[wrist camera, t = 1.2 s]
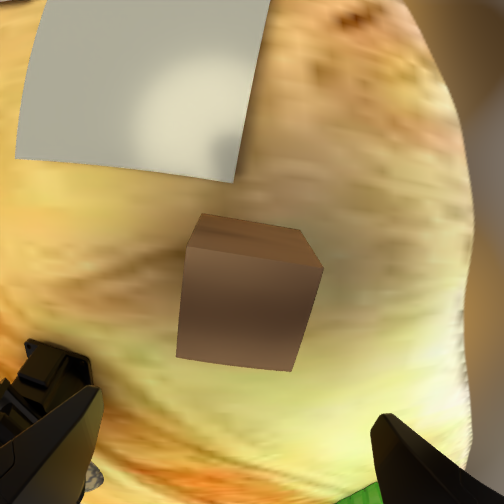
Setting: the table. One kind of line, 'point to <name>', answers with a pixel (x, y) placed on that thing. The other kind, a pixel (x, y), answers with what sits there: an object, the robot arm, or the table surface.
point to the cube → (246, 294)
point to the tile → (142, 84)
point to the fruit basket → (365, 496)
